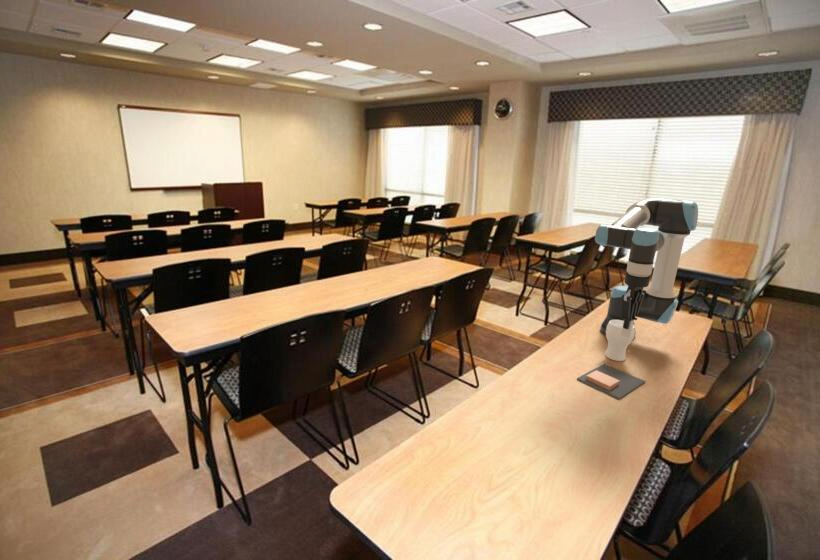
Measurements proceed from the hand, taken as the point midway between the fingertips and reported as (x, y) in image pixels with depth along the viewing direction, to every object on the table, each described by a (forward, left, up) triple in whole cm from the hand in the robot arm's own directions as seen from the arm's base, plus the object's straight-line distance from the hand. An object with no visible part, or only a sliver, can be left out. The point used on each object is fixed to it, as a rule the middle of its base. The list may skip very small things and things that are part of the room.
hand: (625, 335), depth 147 cm
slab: (+2, -2, -17) cm, 18 cm away
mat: (+1, -1, -19) cm, 19 cm away
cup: (-20, -10, -19) cm, 29 cm away
